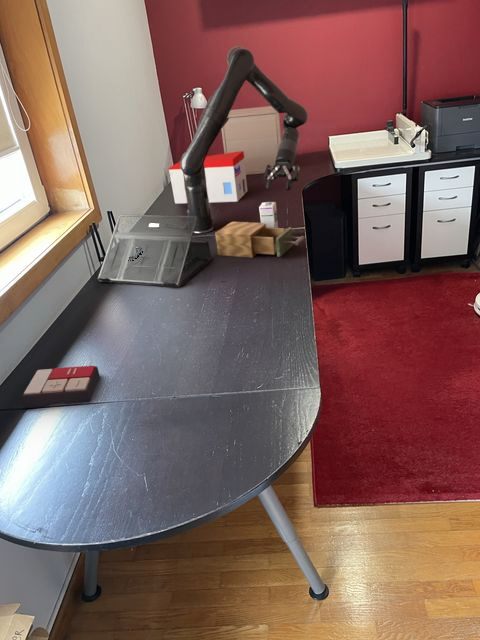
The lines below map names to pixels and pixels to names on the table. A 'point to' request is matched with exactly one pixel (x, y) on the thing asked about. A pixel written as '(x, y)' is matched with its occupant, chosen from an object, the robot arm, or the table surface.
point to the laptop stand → (155, 253)
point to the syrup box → (269, 214)
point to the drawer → (274, 241)
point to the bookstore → (215, 178)
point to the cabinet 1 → (253, 136)
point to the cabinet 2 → (237, 239)
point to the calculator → (61, 386)
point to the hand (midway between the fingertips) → (277, 189)
